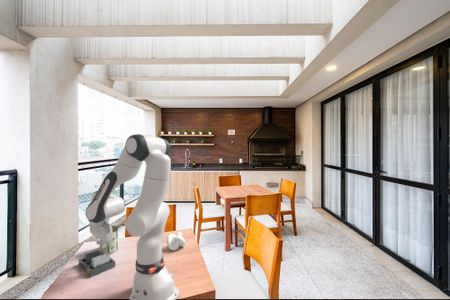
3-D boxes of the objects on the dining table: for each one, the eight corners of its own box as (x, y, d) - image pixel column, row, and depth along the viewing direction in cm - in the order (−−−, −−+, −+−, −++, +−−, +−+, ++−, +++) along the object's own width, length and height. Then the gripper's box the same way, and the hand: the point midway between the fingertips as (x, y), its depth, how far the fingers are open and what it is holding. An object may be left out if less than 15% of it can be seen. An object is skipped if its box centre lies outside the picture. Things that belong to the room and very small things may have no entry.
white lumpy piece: (166, 244, 142) (166, 231, 142) (184, 242, 145) (184, 229, 145) (166, 252, 131) (166, 238, 131) (185, 250, 134) (185, 236, 134)
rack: (115, 266, 115) (115, 254, 115) (90, 277, 105) (90, 263, 105) (101, 256, 126) (101, 244, 125) (77, 265, 116) (77, 252, 116)
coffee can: (106, 246, 138) (106, 225, 138) (121, 247, 137) (121, 226, 137) (95, 254, 128) (95, 231, 127) (111, 255, 127) (111, 232, 126)
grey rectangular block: (110, 265, 114) (110, 254, 114) (93, 272, 108) (93, 260, 108) (107, 263, 116) (107, 252, 116) (91, 270, 110) (91, 258, 110)
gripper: (116, 222, 108) (116, 249, 108) (99, 214, 120) (99, 238, 121) (103, 226, 103) (103, 254, 103) (87, 217, 115) (87, 242, 116)
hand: (101, 245), depth 112 cm, fingers open, 5 cm apart
